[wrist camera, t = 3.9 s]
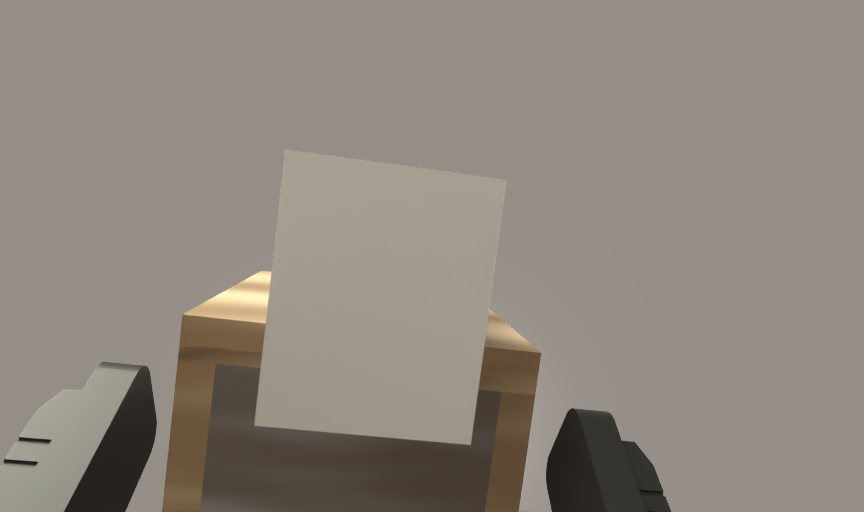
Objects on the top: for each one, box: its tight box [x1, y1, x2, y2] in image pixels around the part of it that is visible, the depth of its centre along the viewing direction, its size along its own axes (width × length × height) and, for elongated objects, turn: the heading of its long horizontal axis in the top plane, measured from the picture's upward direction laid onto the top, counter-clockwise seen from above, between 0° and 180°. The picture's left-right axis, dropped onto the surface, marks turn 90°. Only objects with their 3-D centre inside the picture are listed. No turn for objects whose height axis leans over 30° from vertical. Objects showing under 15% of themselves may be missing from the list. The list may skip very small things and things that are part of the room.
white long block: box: [254, 149, 507, 445], centre depth 23 cm, size 24×4×5 cm, turn 6°
